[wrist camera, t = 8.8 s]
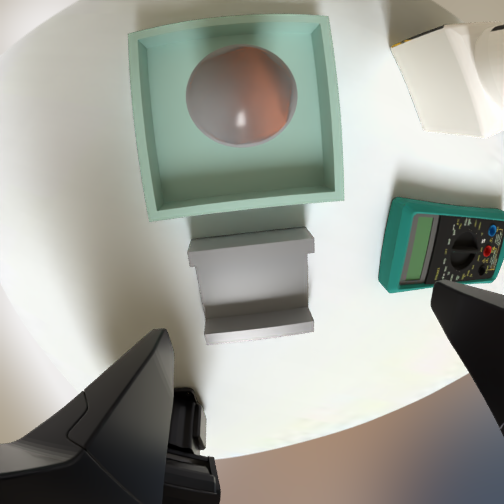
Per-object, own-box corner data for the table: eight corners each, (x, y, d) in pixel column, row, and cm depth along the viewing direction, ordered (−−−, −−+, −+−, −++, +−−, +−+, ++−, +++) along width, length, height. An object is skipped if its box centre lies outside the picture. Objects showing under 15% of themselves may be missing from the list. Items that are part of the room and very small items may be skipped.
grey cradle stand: (208, 326, 24) (206, 344, 21) (191, 239, 21) (187, 252, 18) (306, 314, 24) (313, 331, 22) (305, 226, 21) (314, 238, 19)
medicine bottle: (446, 35, 15) (553, 14, 4) (475, 111, 18) (585, 125, 7) (387, 47, 16) (504, 6, 5) (422, 133, 19) (548, 153, 8)
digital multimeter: (483, 273, 25) (499, 285, 22) (372, 280, 24) (388, 298, 21) (498, 207, 22) (518, 216, 19) (386, 194, 21) (406, 203, 18)
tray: (158, 211, 20) (149, 221, 17) (139, 44, 15) (128, 33, 13) (331, 192, 20) (344, 200, 18) (317, 28, 16) (328, 15, 13)
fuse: (206, 146, 18) (191, 153, 11) (200, 84, 17) (181, 50, 9) (272, 140, 18) (301, 143, 11) (266, 78, 17) (292, 42, 9)
